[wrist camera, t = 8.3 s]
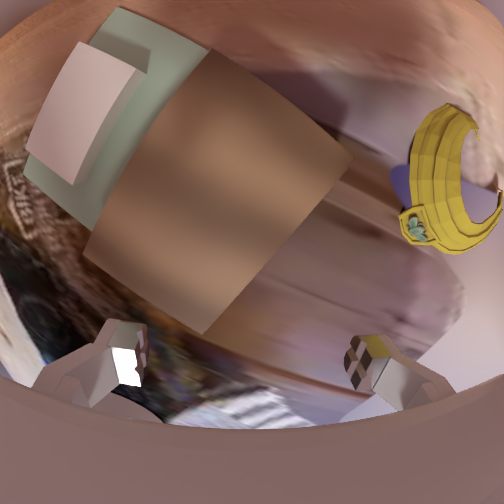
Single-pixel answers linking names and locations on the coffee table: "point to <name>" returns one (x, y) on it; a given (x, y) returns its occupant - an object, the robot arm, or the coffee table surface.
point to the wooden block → (213, 192)
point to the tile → (81, 111)
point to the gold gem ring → (442, 186)
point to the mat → (134, 114)
